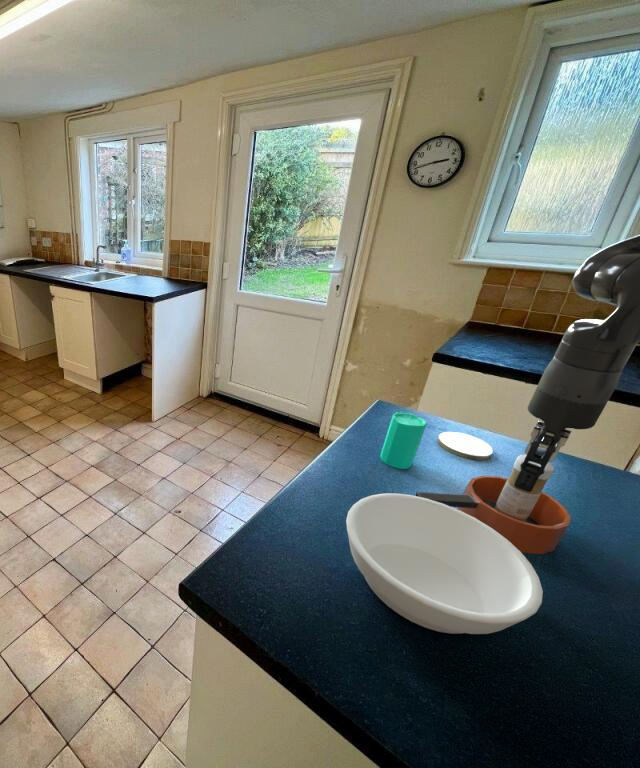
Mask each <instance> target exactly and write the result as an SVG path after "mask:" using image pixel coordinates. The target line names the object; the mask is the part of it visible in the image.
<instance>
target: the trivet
mask: <svg viewBox="0 0 640 768" xmlns="http://www.w3.org/2000/svg"><path fill="white" fill-rule="evenodd" d="M437 443H438V445H439V446H440V447H441V448H442V449H444V450H445V451H447V452H449V453H451V454H453V455H456V456H458V457H462V458H464V459H465V458H466V459H470V460H476V461H477V460H478V461H481V460H482V461H484V460H488V459H490V458H492V455H493V453H494V449H493V447H492V446H491V445H490V444H489V443H487V442H485V441H484V440H482V439H480V438H479V437H476V436H473V435H470V434H467V433H463V432H457V431H444V432H441V433H439V435H438V437H437Z"/></svg>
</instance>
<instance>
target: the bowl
mask: <svg viewBox="0 0 640 768" xmlns="http://www.w3.org/2000/svg"><path fill="white" fill-rule="evenodd" d="M345 523H346V531H347V538H348V542H349V548H350V554H351V556H352V558H353V561H354V563H355V565H356V567H357V568H358V571H359V572H360V573H361V575H362V576H363V577H364V579H365V581H366V583H367V584H368V586H369V587H370V589H371V590H372V592H373V593H374V594H375V595H376V597H377V598H378V599H379V600H380V601H382V602H383V603H384V604H385V605H386V606H387V607H388V608H390V609H391V610H392V611H394V612H395V613H397V614H398V615H400V616H401V617H403V618H405V619H406V620H409V622H411V623H414V624H415V625H418V626H421V627H423V628H426V629H429V630H432V631H435V632H438V633H445V634H454V635H455V634H470V635H488V634H492V633H497V632H500V631H503V630H505V629H507V628H509V627H512V626H514V625H516V624H518V623H521V622H523V621H525V620H527V619H528V618H530V617H532V616H533V615H535V614H536V613H537V612H538V611H539V609H540V607H541V606H542V604H543V593H544V591H543V587H542V584H541V581H540V577H539V576H538V574H537V572H536V570H535V568H534V567H533V565H532V563H531V562H530V561H529V560H528V559H527V557H526V556H525V555H524V553H523V552H520V551H519V550H518V549H517V548H516V547H515V546H514V545H513V544H512V543H510V542H509V541H508V540H507V539H506V538H504V537H503V536H502V535H500V534H499V533H498V532H496V531H495V530H494V529H492V528H491V527H489V526H487V525H486V524H484V523H482V522H481V521H479V520H477V519H476V518H474V517H472V516H470V515H468V514H466V513H464V512H462V511H460V510H458V508H456V507H450V506H448V505H445V504H443V503H439V502H436V501H433V500H430V499H426V498H422V497H417V496H415V495H412V494H404V493H391V492H390V493H377V494H372V495H368V496H366V497H363V498H360V500H358V501H356V502H355V503H354V504H353V505H352V506H351V507H350V509H349V510H348V511H347V516H346V521H345Z"/></svg>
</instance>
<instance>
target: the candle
mask: <svg viewBox="0 0 640 768" xmlns="http://www.w3.org/2000/svg"><path fill="white" fill-rule="evenodd" d="M426 427H427V421H426V419H423V418H421V417H419V416H417V415H415V414H413V412H398V411H396V412H395V413H393V414H392V416H391V420H390V422H389V425H388V429H387V431H386V436H385V438H384V441H383V445H382V448H381V452H380V454H379V457H380V460H381V461H382V462H383V464H385V465H388V466H390V467H392V468H394V469H395V468H396V469H400V470H404V469H410V468H411V467H412V466H413V463H414V461H415V458H416V455H417V452H418V449H419V446H420V444H421V441H422V438H423V435H424V432H425V430H426Z"/></svg>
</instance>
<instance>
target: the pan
mask: <svg viewBox="0 0 640 768" xmlns="http://www.w3.org/2000/svg"><path fill="white" fill-rule="evenodd" d="M508 478H509V477H508ZM508 478H507V477H503V476H499V475H486V474H485V475H484V474H483V475H479V476H474V477H471V479H470V480H469V482H468V483H467V485H466V487H465V489H464V491H463V493H462V494H454V493H440V492H439V493H438V492H422V491H421V492H419V491H417V492H416V493H415V495H414V496H417V497H422V498H426V499H430V500H433V501H436V502H439V503H443V504H445V505H448V506H450V507H452V508H457V510H460V511H462V512H464V513H466V514H468V515H470V516H472V517H474V518H476V519H477V520H479V521H481V522H482V523H484V524H486V525H487V526H489V527H491V528H492V529H494V530H495V531H496V532H498V533H499V534H500V535H502V536H503V537H504V538H506V539H507V540H508V541H509V542H510V543H512V544H513V545H514V546H515V547H516V548H517V549H518V550H519V551H520V552H521V553H522V554H530V555H531V554H533V555H544V554H547V553H551V552H553V551H555V549H556V547H557V546H558V544H559V543H560V541H561V539H562V538H563V536H564V534H565V533H566V531H567V529H568V528H569V525H570V523H571V520H572V516H571V515H570V513H569V511H568V510H567V508H566V507H565V506H564V505H563V504H561V503H560V502H559V501H557V500H556V499H555V498H554V497H553V496H551V495H549V494H547V493H545V492H544V491H543V490H542V491H541V495H540V496H539V498H538V500H537V502H536V504H535V506H534V508H533V510H532V511H531V513H530V515H529V517H528V518H529V519H531V520H532V521H534V522H536V523H537V524H534V523H530V522H526V521H525V522H523V521H519V520H516V519H514V518H512V517H509V516H507V515H505V514H503V513H500V512H498V511H497V510H495V509H494V508H495V507H492V506H491V505H489V504H487V503H486V502H489V503H494V504H496V502H497V500H498V498H499V496H500V494H501V492H502V490H503V488H504V486H505V483H506V481H507V480H508Z"/></svg>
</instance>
